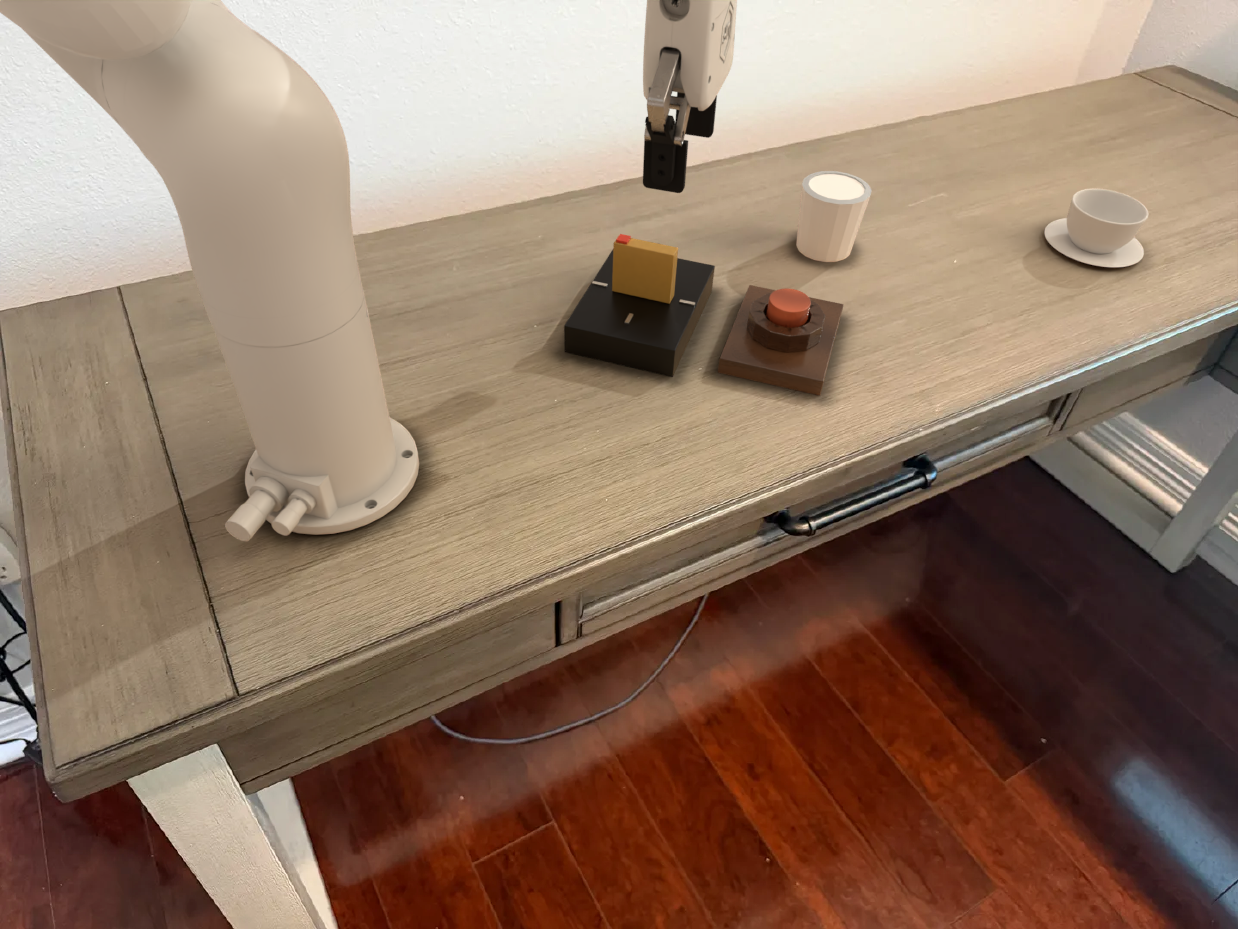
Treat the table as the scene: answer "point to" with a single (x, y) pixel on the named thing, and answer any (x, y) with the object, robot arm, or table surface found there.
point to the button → (788, 308)
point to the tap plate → (639, 320)
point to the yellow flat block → (644, 269)
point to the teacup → (1100, 228)
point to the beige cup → (830, 214)
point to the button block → (780, 344)
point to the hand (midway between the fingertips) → (679, 160)
